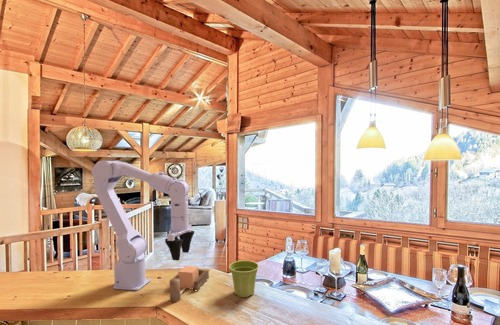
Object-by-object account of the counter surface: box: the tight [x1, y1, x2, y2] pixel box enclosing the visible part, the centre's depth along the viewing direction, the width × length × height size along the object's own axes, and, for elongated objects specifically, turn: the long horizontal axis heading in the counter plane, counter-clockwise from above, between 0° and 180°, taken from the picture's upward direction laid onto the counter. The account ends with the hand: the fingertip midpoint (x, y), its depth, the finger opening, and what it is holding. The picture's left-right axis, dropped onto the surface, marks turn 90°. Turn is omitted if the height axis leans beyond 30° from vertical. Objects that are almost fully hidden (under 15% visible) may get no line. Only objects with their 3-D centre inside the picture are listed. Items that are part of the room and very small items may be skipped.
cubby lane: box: [172, 268, 210, 291], centre depth 96 cm, size 9×10×3 cm
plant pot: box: [229, 259, 260, 298], centre depth 88 cm, size 9×9×9 cm
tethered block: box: [169, 265, 199, 303], centre depth 90 cm, size 5×14×6 cm, turn 168°
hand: (181, 256), depth 95 cm, fingers open, 7 cm apart
